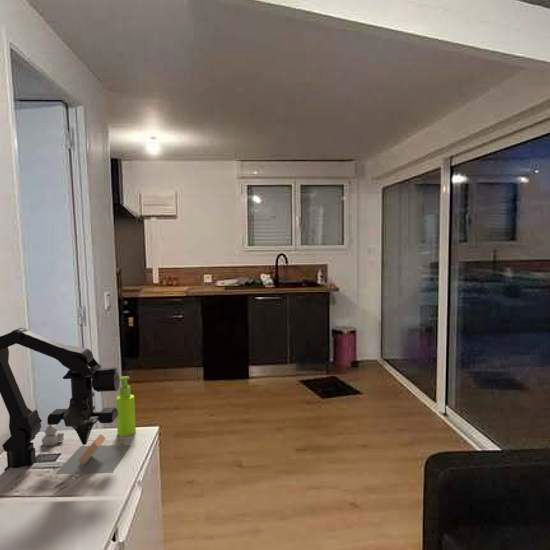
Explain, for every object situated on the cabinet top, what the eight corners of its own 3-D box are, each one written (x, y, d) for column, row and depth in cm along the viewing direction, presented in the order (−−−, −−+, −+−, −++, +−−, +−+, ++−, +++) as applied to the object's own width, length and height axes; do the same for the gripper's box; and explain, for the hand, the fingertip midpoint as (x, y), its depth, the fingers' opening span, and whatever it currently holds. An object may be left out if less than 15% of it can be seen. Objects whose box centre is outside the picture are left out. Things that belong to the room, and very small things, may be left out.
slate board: (54, 476, 130) (54, 473, 130) (80, 448, 148) (80, 446, 148) (112, 475, 130) (112, 472, 130) (131, 447, 148) (131, 445, 148)
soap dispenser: (111, 435, 158) (109, 377, 157) (131, 429, 163) (128, 373, 161) (119, 440, 154) (116, 380, 152) (138, 434, 158) (136, 376, 157)
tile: (78, 460, 135) (92, 442, 135) (86, 451, 141) (100, 434, 141) (83, 465, 135) (98, 446, 135) (91, 455, 141) (106, 438, 141)
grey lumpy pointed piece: (43, 443, 153) (42, 419, 152) (65, 440, 155) (64, 416, 154) (40, 450, 147) (39, 425, 147) (63, 447, 149) (62, 422, 149)
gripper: (36, 402, 129) (39, 457, 130) (104, 400, 129) (107, 455, 130) (54, 389, 140) (57, 440, 141) (117, 388, 140) (119, 439, 141)
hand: (84, 444), depth 138 cm, fingers closed
